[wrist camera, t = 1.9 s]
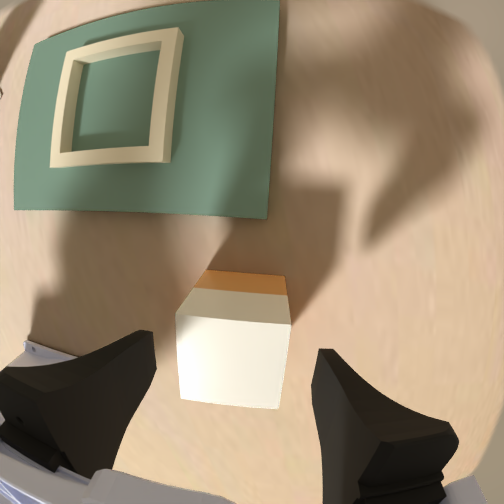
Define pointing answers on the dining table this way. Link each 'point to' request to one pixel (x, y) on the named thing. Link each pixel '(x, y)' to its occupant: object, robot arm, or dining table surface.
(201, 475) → the dining table surface
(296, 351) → the dining table surface
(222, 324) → the brick stack
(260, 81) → the base plate
